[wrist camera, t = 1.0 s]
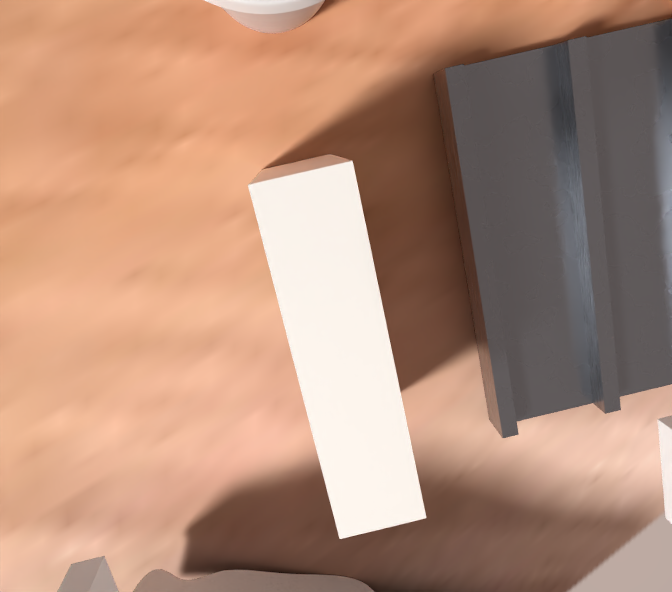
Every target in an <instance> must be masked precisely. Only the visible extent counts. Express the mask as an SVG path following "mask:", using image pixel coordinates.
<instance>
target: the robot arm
mask: <svg viewBox="0 0 672 592" xmlns="http://www.w3.org/2000/svg"><path fill="white" fill-rule="evenodd" d="M658 429H659V441H660V454H661V467H662V480H663V493H664V505H665V517H666V519H667V520H668V521H669V522H670V523H671V524H672V416H668V417H664V418H660V419H658ZM57 592H119V591H118V588H117V586H116V584H115V581H114V579H113V576H112V574H111V571H110V569H109V566H108V564H107V561H106V559H105V556H102V557H98V558H94V559H90V560H86V561H82V562H78V563H74V564H71V566H70V568H69V570H68V572H67V574H66V576H65V578H64V580H63V582H62V584H61V585H60V587H59V589H58V591H57Z"/></svg>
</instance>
